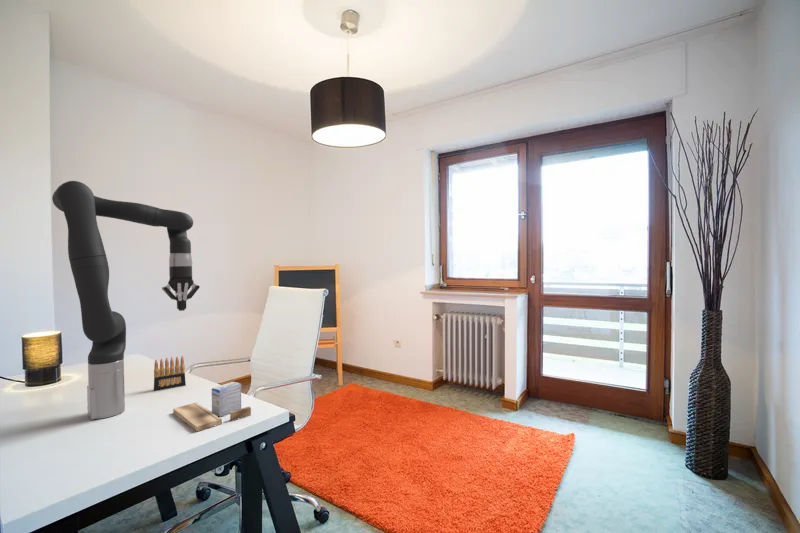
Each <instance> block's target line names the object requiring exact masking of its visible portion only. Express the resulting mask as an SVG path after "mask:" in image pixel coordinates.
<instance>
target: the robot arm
mask: <svg viewBox="0 0 800 533" xmlns="http://www.w3.org/2000/svg"><path fill="white" fill-rule="evenodd" d="M51 197H52V198H51V200H52V203H53V205H54V206H55V208H57V209H58V210H59V211H61V212H63V213H64V214H63V215H64V218H65V220H66V224H67V254H68V261H69V264H70V269H71V274H72V276H73V280H74V284H75V289H76V292H77V295H78V299H79V303H80V304H79V305H80V312H81V325H82V326H81V327H82V331H83V333H84V335H85V337H86V338H87V339H88V340H89V341H91V342H92V346H91V349H90V352H88V355H87V372H88V373H87V378H88V379H87V381H88V384H87V387H86V389H87V391H86V392H87V393H86V394H87V395H86V396H87V399H86V400H87V402H86V403H87V416H88V418H89V420H92V421H93V420H97V419H106V418H111V417H115V416H117V415H120V414H121V413H123V412H125V411H126V409H125V408H126V402H125V400H126V398H125V397H126V396H125V395H126V394H125V362H124V361H125V360H124V359H125V357H124V356H125V351H126V344H127V327H126V326H127V324H126V320H125V317H124V316H123V315H122V314H121V313H119V312H117V311H112V308H111V304H110V301H109V294H108V292H109V291H108V290H109V284H110V283H109V282H110V281H109V280H110V267H109V266H110V265H109V262H108V258H107V253H106V250H105V246H104V242H103V240H102V236H101V233H100V230H99V226H98V225H99V224H98V221H97V217H103V218H104V217H105V218H111V219H117V220H122V221H126V222H131V223H137V224H141V225H146V226H149V227H150V226H151V227H164V228H166V231H167V237H168V240H169V258H168V260H169V261H168V263H169V264H168V266H169V268H168V270H169V280H168V282H167V284H166V285H165V286H163V287H161V290H162V291H163V292H164V293H165V294H166V295H167V297H169V298H170V299H171V300H174V301H176V309H177V310H178V311H180V312H184V311H185V310H186V309H187V301H188V300H190V299H192V298H193V297H194V295H195V294H196V293H197V291H198V290H199V289H200V287H201V286H200V285H197V284H196V283H195V282H194V279H193V258H192V245H191V241H190V239H189V238H188V235H187V231H189V230H190V229H192V227H193V226H194V220H193V218H192V216H191V215H190V214H188V213H186V212H183V211H179V210H173V209H172V210H171V209H164V208H160V207H155V206H153V205H147V204H145V203H138V202H131V201H121V200H113V199H107V198H103V197H99V196H96V195H94V193H93V191H92V189H91V188H90V187H89V186H87V184H85V183H83V182H81V181H78V180H69V181H66V182H64V183H62V184H60V185H58V187H57V188H56V189H55V191H54V192H53V193H52V196H51ZM171 290H173V291H174V293H173V292H172V291H171ZM189 290H190V291H189ZM188 291H189V292H188Z"/></svg>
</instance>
